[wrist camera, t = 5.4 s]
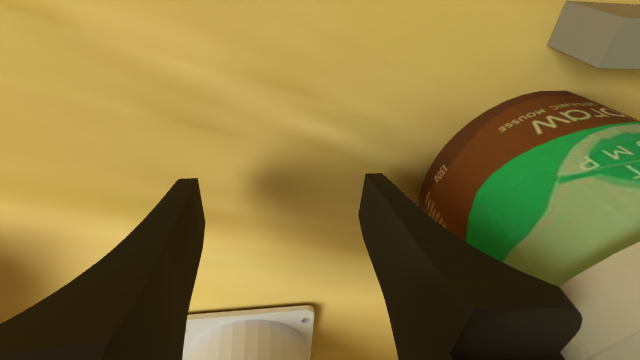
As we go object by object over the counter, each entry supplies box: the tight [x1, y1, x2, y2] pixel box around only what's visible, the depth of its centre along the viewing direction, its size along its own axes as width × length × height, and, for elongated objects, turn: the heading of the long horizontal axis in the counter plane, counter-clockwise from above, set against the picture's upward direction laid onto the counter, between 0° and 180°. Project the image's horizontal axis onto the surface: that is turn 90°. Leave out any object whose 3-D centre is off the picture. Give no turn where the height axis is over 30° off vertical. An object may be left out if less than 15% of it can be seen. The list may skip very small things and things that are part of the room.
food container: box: [419, 91, 640, 360], centre depth 12 cm, size 12×6×10 cm, turn 104°
